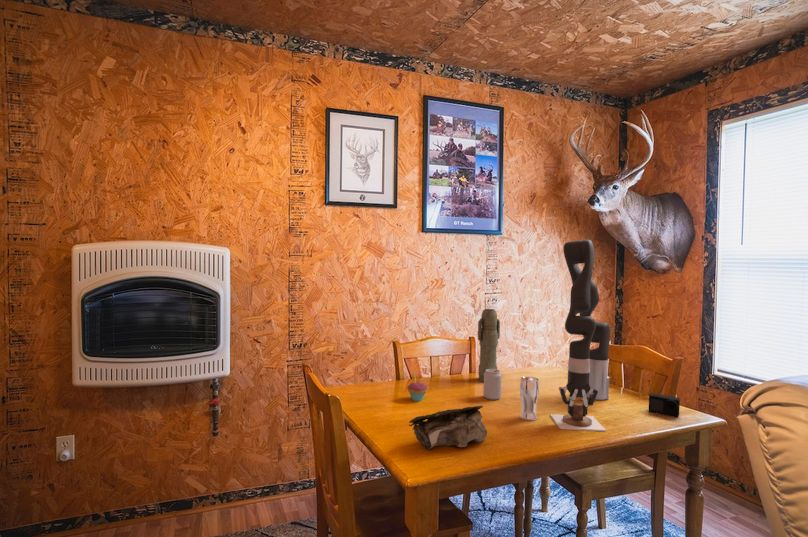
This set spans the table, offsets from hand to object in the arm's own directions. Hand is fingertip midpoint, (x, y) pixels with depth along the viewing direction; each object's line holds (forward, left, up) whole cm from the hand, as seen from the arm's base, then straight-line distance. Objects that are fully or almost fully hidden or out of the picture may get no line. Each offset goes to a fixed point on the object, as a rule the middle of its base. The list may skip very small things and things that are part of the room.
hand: (577, 415), depth 168 cm
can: (+28, -26, -3) cm, 38 cm away
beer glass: (+17, -3, -3) cm, 18 cm away
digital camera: (-38, -15, -3) cm, 41 cm away
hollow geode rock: (+48, +24, -3) cm, 54 cm away
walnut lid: (0, 0, -2) cm, 2 cm away
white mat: (0, 0, -3) cm, 3 cm away
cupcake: (+60, -19, -3) cm, 63 cm away
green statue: (+27, -54, -3) cm, 60 cm away
